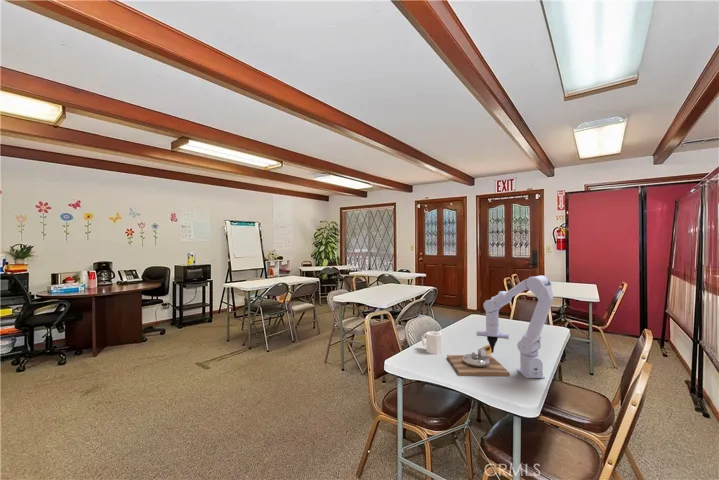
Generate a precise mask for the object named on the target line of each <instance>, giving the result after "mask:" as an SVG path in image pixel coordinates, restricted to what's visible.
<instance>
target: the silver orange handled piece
mask: <svg viewBox="0 0 719 480" xmlns="http://www.w3.org/2000/svg"><path fill="white" fill-rule="evenodd" d="M491 354H493V353H492V350H491V347H490V344H488V345H484V346H483V347H481V348H478V349H477V353H475V352H474V351H473V352H472V351H471V353H468V354H462V355H463V363H464V364H466V365H469V366H472V367H487V366H489V365H490V359H489V357H488V356H485V355H491Z"/></svg>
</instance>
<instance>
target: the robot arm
mask: <svg viewBox="0 0 719 480" xmlns="http://www.w3.org/2000/svg"><path fill="white" fill-rule="evenodd" d="M552 285H553V284H552V282H551V281H550V278H548V277H547V276H546V275H536V276H529V277H528V278H526V279H523V280H522V281H520V282H519V283H518V284H516V285H514V286H513V287H512V288H510V289H509V290H508V291H505V290H500V291H498V292H497V293H498V294H496V295H495V296H492V297H491V298H490V299H486V300H485V301H484V302H483V305H482V306H483V308H484V309H483V310H484V311H485V331H483V330H482V331H480V330H477V331H476V337H486V339H487V342H488V345H490V347H491V350H492V353H491V354H494V352H495V351H494V350H495V346H496V344H497V341H498V339H503V340H505V339H506V340H509V339H510V337H509V335H510V334H507V333H501V332H500V331H499V330H500V329H499V325H500V324H499V311H500V310H501V308H503V307H504V306H506V305H508V304H509V303H511V302H512V299H513V297H515V296H517V295H519V294H521V293H523V292H524V291H530V292H531V293H532V294H534V296H535V297H536V299H537V303H536V306H535V308H534V311H533V314H532V316H531V318H530V322H529V324H528V326H527V329H526V331H525V333H524V335H522V337H521V339H520V340H519V341H517V349H518V351H519V352H520V353H519V355H520V356H519V357H520V358H519V363H520V364H519V365H520V366H519V367H520V368H516V370H517V371H518V372H519V373H520V374H521V375H522V376H524V377H525V378H526V379H546V378H545V375H544V372H543V370H544V369H543V368H544V367H543V364H544V363H543V362H542V360H541V359H540V358H539V350H540V349H541V346H542V344H541V341H542V336H541V334H542V331H543V328H544V325H545V324H546V320H547V318H548V315H549V312H550V310H551V307H552V305H553V302H554V294H553V290H552V287H553V286H552Z"/></svg>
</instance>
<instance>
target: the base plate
mask: <svg viewBox="0 0 719 480" xmlns="http://www.w3.org/2000/svg"><path fill="white" fill-rule="evenodd" d="M463 355H464V354H447V355H446V359H447V360H448V362H449V363H450V364H451V366H452V367H453V369H454V371H456V373H457V375H458V376H460V377H461V376H462V377H463V376H464V377H465V376H466V377H473V376H474V377H478V376H479V377H510V376H511V373H510V371H509V370H507V368H506V367H504V366H503V365H502V364H501V363H500V362H499V361H497V359H496V358H495V357H494V356H492V355H491V354H489V355H485V356H488V357H489V359H490V365H489V366H487V367H472V366H469V365H466V364H464V363H463Z"/></svg>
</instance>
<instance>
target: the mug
mask: <svg viewBox="0 0 719 480" xmlns="http://www.w3.org/2000/svg"><path fill="white" fill-rule="evenodd" d="M420 339H421V343H422V346H426V347H425V348H426V350H425V351H426V352H425V353H428V354H431V355H439V354H440V355H441V354H442V352H443V333H442V332H440V331H433V330H432V331H427V332H426V333H424V334H422V335H421V337H420Z"/></svg>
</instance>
